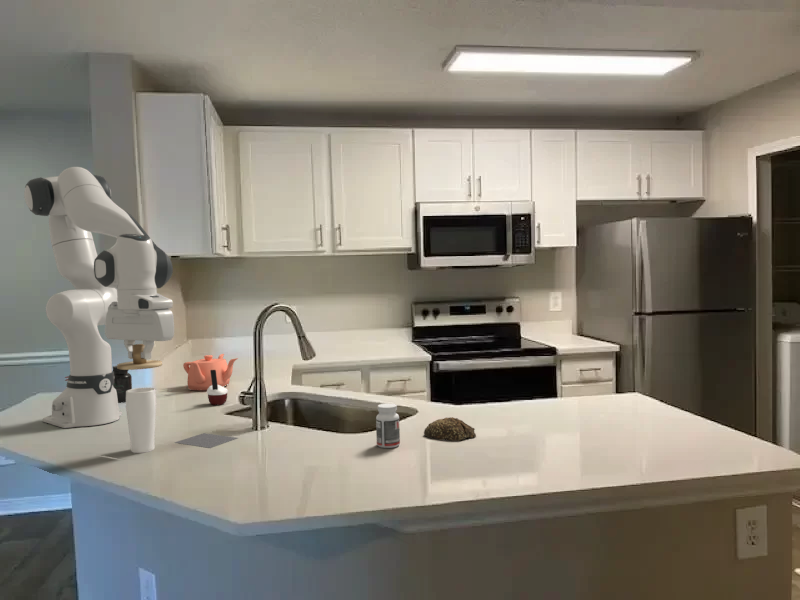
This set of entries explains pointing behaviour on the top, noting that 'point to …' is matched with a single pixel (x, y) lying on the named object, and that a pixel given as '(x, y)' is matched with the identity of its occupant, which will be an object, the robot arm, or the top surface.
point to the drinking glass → (141, 418)
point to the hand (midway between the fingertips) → (139, 358)
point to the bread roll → (449, 430)
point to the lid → (139, 360)
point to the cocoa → (216, 391)
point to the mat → (206, 440)
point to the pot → (208, 372)
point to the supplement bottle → (122, 383)
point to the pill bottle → (387, 426)
